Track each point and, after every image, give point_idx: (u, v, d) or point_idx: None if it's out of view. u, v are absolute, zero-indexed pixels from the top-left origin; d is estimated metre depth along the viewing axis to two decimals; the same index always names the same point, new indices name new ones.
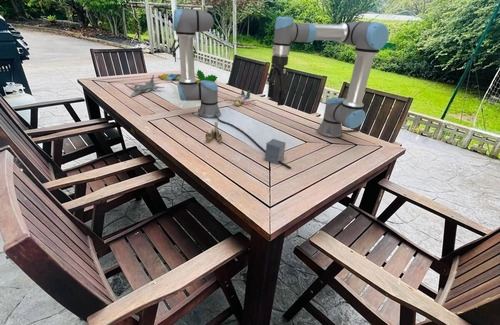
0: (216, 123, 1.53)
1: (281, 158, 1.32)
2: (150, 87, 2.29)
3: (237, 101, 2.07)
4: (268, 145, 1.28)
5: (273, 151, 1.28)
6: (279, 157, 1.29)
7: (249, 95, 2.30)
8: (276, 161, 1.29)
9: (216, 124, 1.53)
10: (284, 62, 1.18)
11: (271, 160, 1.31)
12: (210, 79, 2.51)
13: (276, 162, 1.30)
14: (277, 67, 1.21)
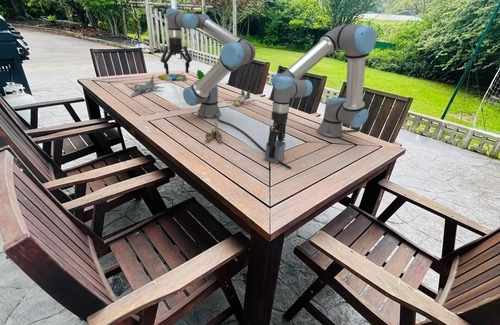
0: (216, 123, 1.53)
1: (281, 158, 1.32)
2: (150, 87, 2.29)
3: (237, 101, 2.07)
4: None
5: None
6: (279, 157, 1.29)
7: (249, 95, 2.30)
8: (276, 161, 1.29)
9: (216, 124, 1.53)
10: (277, 118, 1.20)
11: (271, 160, 1.31)
12: None
13: (276, 162, 1.30)
14: None
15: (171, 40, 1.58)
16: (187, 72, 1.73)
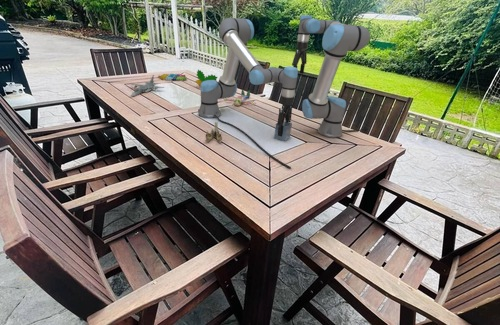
0: (216, 123, 1.53)
1: (288, 136, 1.57)
2: (150, 87, 2.29)
3: (237, 101, 2.07)
4: (277, 125, 1.53)
5: None
6: (286, 135, 1.54)
7: (249, 95, 2.30)
8: (284, 138, 1.54)
9: (216, 124, 1.53)
10: (301, 45, 1.72)
11: (279, 138, 1.56)
12: (210, 79, 2.51)
13: (284, 139, 1.55)
14: None
15: (288, 100, 1.44)
16: None
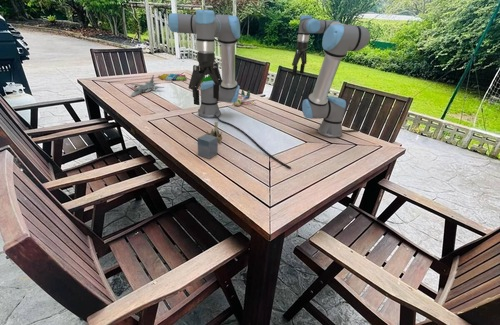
0: (216, 123, 1.53)
1: (214, 153, 1.33)
2: (150, 87, 2.29)
3: (237, 101, 2.07)
4: (199, 140, 1.29)
5: (204, 145, 1.28)
6: (210, 152, 1.30)
7: (249, 95, 2.30)
8: (208, 156, 1.30)
9: (216, 124, 1.53)
10: (301, 45, 1.72)
11: (203, 155, 1.31)
12: (210, 79, 2.51)
13: (208, 157, 1.30)
14: None
15: (204, 56, 1.08)
16: (217, 98, 1.25)
